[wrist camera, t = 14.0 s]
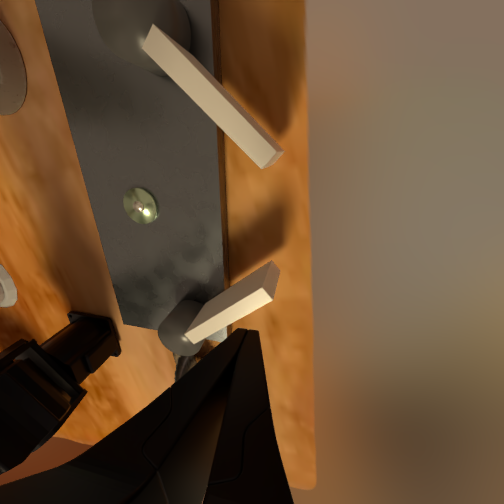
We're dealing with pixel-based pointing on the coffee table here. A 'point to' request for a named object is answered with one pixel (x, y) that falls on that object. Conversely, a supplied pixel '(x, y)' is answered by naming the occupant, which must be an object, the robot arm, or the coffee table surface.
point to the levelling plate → (146, 163)
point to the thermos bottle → (11, 74)
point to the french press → (7, 289)
